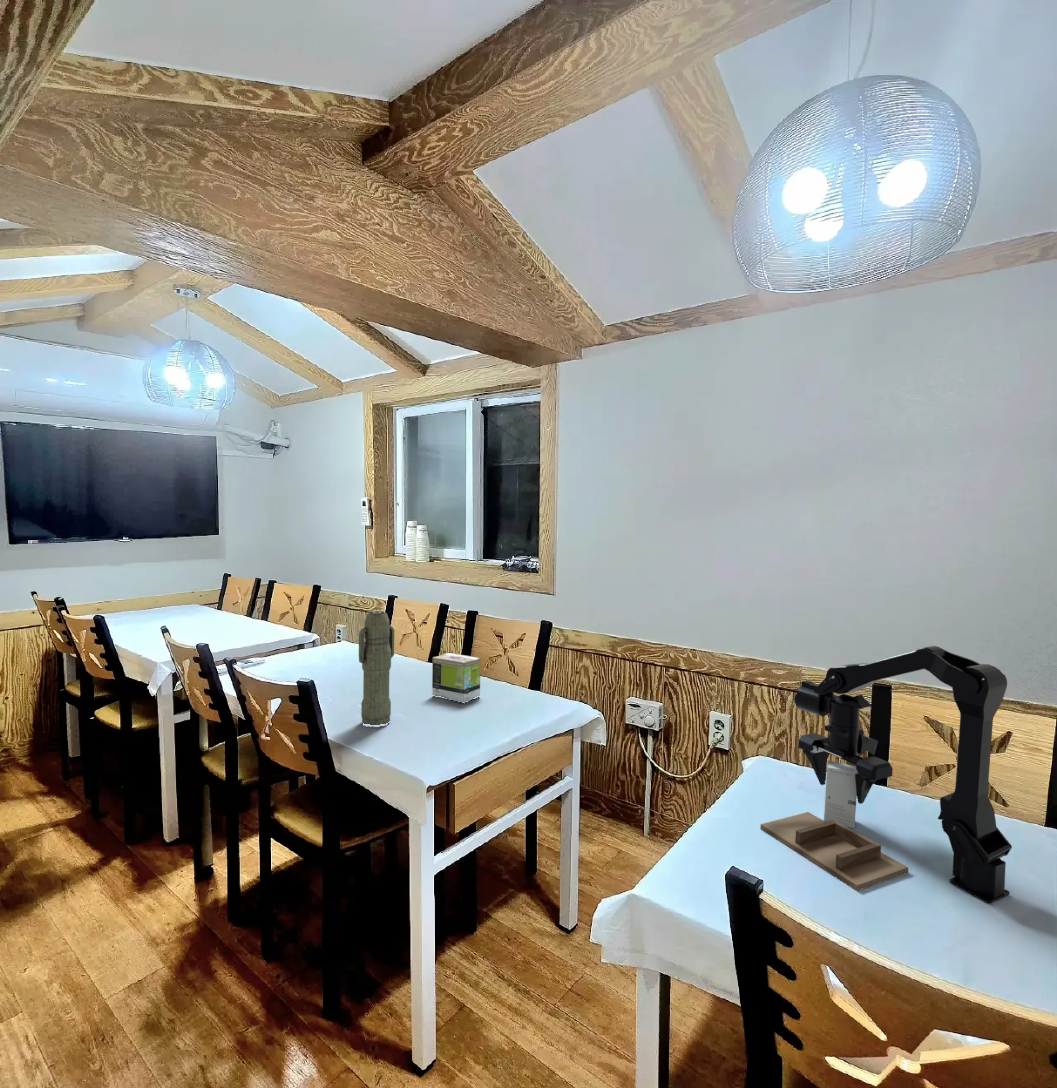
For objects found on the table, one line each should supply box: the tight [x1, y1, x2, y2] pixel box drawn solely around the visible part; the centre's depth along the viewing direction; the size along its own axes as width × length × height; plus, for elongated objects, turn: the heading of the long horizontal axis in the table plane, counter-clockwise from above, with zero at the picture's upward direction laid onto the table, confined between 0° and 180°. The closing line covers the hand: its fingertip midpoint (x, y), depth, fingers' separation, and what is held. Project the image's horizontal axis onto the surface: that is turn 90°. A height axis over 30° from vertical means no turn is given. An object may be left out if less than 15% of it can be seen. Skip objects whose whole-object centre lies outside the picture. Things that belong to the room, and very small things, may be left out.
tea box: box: [431, 652, 481, 702], centre depth 208 cm, size 15×10×15 cm, turn 58°
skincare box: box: [823, 760, 858, 829], centre depth 125 cm, size 6×4×12 cm
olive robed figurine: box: [358, 610, 395, 725], centre depth 179 cm, size 9×12×35 cm
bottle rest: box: [760, 811, 909, 891], centre depth 114 cm, size 22×14×4 cm, turn 24°
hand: (841, 793), depth 125 cm, fingers open, 9 cm apart
